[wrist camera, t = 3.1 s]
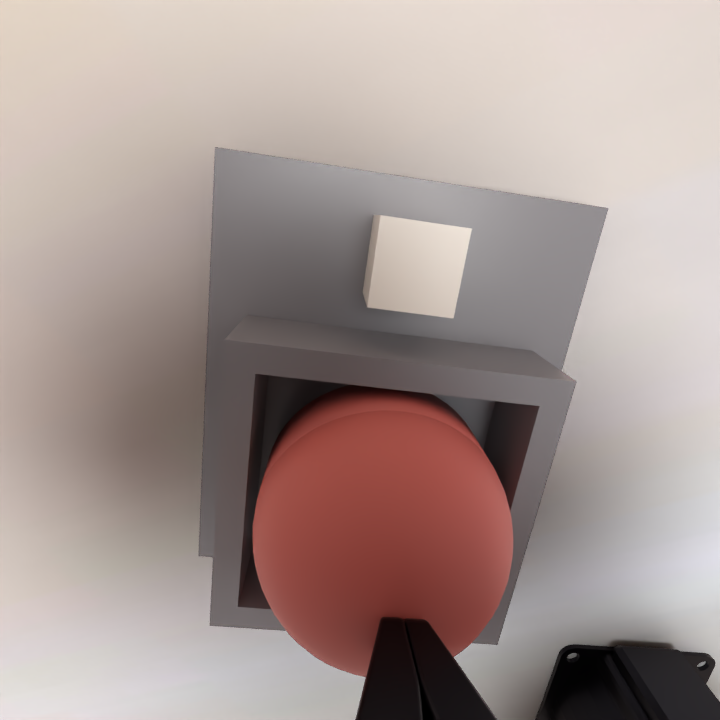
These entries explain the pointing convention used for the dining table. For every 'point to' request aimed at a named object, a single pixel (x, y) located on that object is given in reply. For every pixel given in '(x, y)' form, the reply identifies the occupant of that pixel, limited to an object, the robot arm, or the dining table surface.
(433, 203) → the console
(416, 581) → the red ball
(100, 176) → the dining table surface
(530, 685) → the dining table surface
